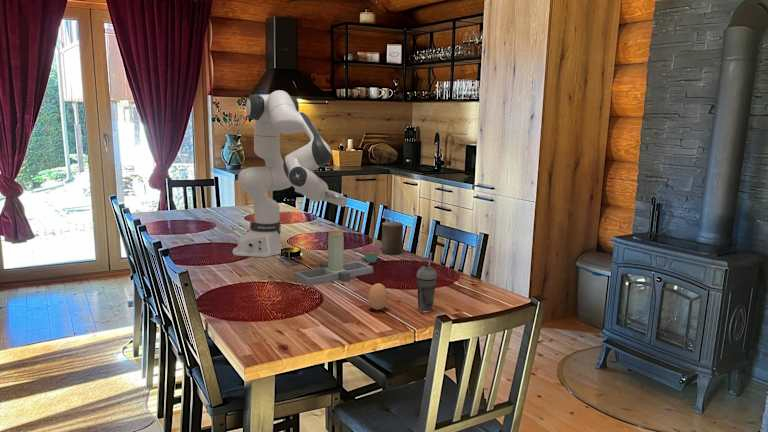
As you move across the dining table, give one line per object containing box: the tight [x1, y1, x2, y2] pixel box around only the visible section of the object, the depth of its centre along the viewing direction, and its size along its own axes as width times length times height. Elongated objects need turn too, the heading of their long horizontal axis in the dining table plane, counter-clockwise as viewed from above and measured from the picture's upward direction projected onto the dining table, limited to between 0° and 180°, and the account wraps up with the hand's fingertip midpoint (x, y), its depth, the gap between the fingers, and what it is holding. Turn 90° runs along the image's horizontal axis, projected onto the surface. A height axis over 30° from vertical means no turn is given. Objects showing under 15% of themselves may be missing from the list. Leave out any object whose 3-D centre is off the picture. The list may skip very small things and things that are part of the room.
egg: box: [367, 282, 389, 311], centre depth 191 cm, size 7×7×9 cm
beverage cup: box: [415, 252, 438, 312], centre depth 191 cm, size 7×7×20 cm
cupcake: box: [360, 234, 382, 263], centre depth 250 cm, size 9×8×12 cm
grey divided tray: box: [293, 260, 374, 286], centre depth 228 cm, size 30×18×3 cm, turn 128°
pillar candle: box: [381, 221, 404, 256], centre depth 264 cm, size 10×10×15 cm
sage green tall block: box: [324, 230, 347, 275], centre depth 226 cm, size 6×7×17 cm
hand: (330, 200), depth 230 cm, fingers closed
